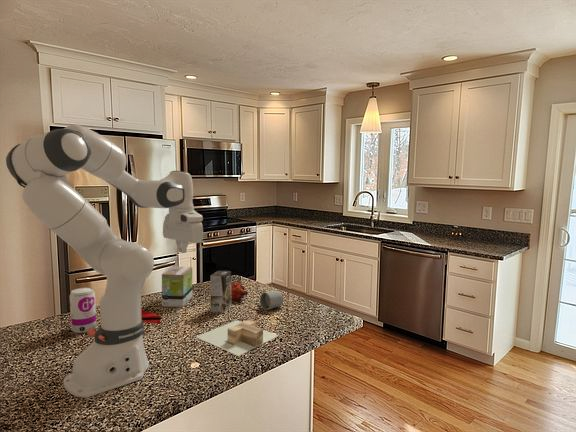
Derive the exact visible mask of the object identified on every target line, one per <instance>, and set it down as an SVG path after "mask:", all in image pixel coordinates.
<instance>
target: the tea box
mask: <svg viewBox="0 0 576 432" xmlns="http://www.w3.org/2000/svg"><path fill="white" fill-rule="evenodd" d="M192 297H193V267H192V266H171V267H170V268H169V269H167V270H166V271H164V272H162V274H161V306H162V307H166V308H167V307H169V308H170V307H173V308H174V307H175V308H177V307H178V308H183V307H184V306H186V304H187V303H188V301H190V299H192Z"/></svg>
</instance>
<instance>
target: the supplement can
mask: <svg viewBox="0 0 576 432" xmlns="http://www.w3.org/2000/svg"><path fill="white" fill-rule="evenodd" d="M68 298H69V310H70V311H69V312H70V328H71V329H70V330H71V331H72V332H73V333H74V334H84V333H87V331H89V329H90V328H93V329H94V330H95V328H96V327H97V312H96V309H97V308H96V307H97V306H96V292H95V291H94V289H93V288H92V287H79V288H75V289H72V290H71V291H70V294H69V297H68Z"/></svg>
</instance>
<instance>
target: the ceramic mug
mask: <svg viewBox="0 0 576 432" xmlns="http://www.w3.org/2000/svg"><path fill="white" fill-rule="evenodd" d="M283 303H284V296H283V293H282V292H281V291H279V290H271V291H264V292H262V293H261V294H260V297H259V304H260V306H261V308H262V309H263V310H264V311H270V310H272V309H275V308H276V309H277V308H279V307H281V306H282V305H283Z"/></svg>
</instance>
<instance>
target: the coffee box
mask: <svg viewBox="0 0 576 432" xmlns="http://www.w3.org/2000/svg"><path fill="white" fill-rule="evenodd" d="M209 281H210V313H226V312H227V311H228V310H229V308H231V307H232V298H231V283H232V271H230V270H216V271H215V272H213V273H212V274H211V275H210V280H209Z"/></svg>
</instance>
